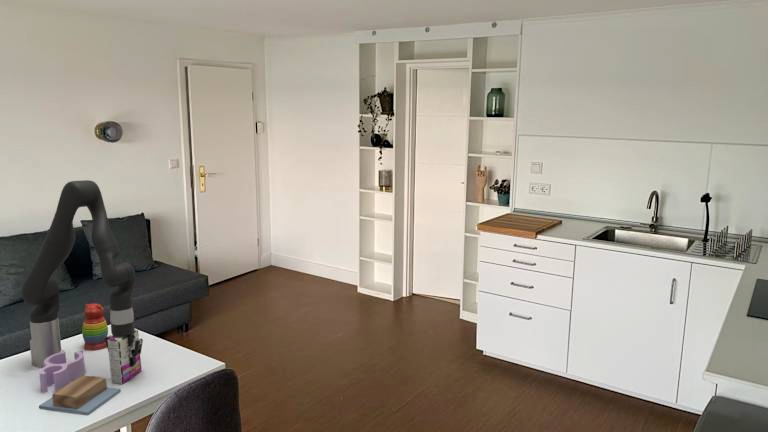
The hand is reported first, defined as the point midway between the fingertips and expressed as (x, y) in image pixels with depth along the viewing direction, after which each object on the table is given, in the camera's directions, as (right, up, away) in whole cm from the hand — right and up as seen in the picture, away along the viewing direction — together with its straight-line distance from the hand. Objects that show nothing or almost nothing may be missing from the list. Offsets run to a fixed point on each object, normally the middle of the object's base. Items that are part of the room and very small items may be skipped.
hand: (125, 365), depth 211 cm
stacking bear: (-24, +1, +28) cm, 37 cm away
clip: (-22, -5, -1) cm, 23 cm away
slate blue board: (-8, -8, -16) cm, 19 cm away
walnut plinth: (-8, -7, -16) cm, 19 cm away
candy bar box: (0, -5, +1) cm, 5 cm away
